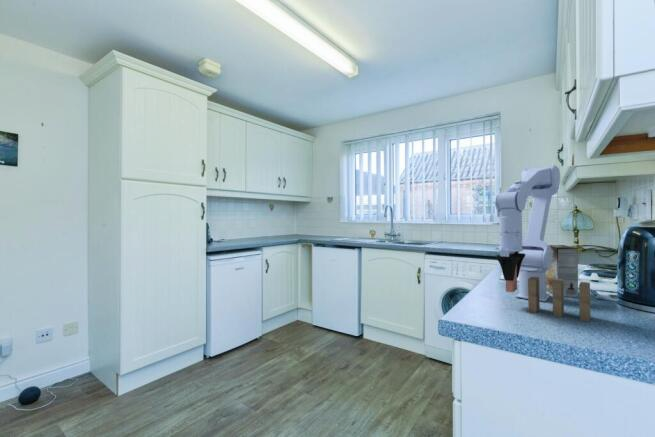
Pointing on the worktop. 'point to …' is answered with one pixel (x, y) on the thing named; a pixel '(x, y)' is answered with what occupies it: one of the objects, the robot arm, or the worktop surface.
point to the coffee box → (564, 269)
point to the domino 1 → (512, 283)
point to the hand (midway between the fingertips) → (511, 278)
